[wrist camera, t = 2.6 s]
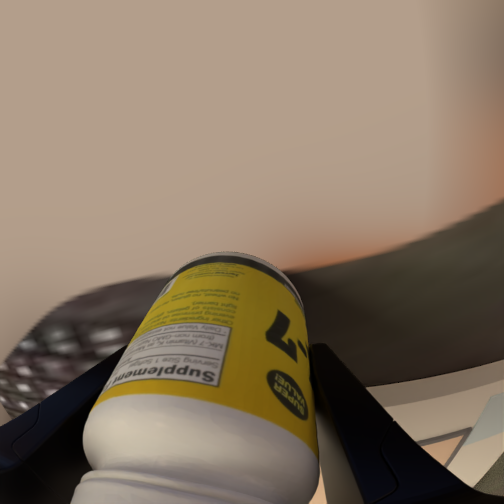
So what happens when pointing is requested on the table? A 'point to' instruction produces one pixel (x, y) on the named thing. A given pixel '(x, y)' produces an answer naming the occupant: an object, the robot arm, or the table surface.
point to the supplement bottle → (209, 396)
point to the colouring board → (449, 419)
